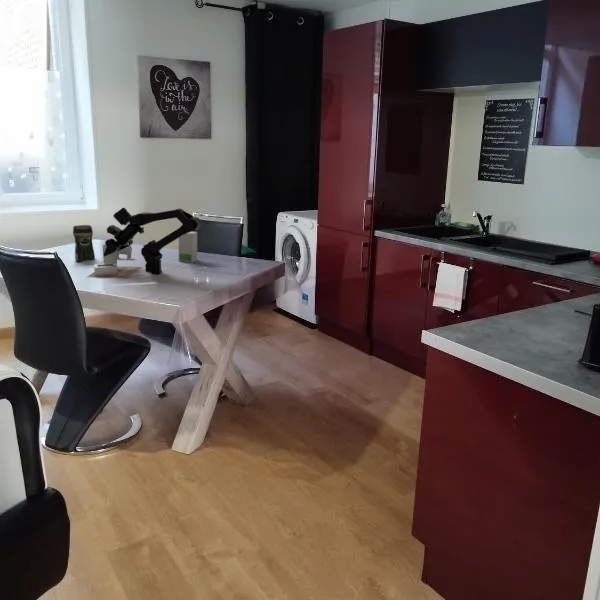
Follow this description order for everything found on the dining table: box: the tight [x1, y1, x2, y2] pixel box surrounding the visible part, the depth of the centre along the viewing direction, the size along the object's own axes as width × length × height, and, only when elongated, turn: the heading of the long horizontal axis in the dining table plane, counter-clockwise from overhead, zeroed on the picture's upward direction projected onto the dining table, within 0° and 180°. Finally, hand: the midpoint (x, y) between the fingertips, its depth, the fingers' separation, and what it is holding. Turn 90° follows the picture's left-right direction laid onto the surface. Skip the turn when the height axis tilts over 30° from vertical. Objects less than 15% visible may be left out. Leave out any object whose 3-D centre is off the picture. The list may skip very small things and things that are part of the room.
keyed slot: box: [93, 263, 118, 276], centre depth 268 cm, size 10×8×4 cm
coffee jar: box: [72, 224, 96, 263], centre depth 296 cm, size 10×8×19 cm
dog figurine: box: [113, 238, 133, 261], centre depth 305 cm, size 5×13×11 cm, turn 92°
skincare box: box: [178, 231, 198, 263], centre depth 305 cm, size 8×7×16 cm
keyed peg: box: [102, 243, 118, 265], centre depth 278 cm, size 5×3×12 cm, turn 81°
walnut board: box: [86, 265, 144, 279], centre depth 273 cm, size 19×24×1 cm
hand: (108, 253), depth 278 cm, fingers open, 9 cm apart
